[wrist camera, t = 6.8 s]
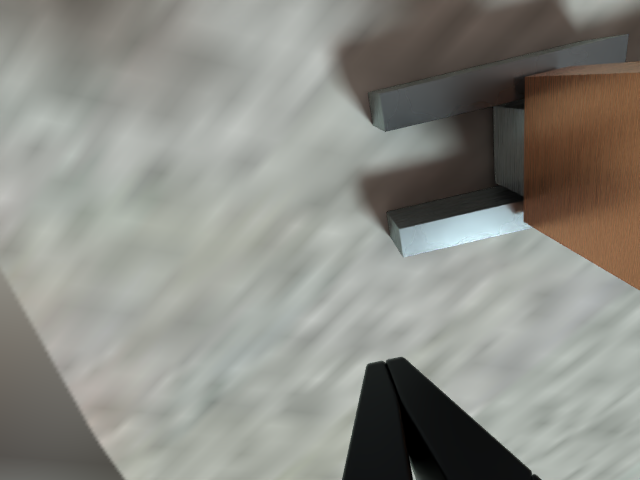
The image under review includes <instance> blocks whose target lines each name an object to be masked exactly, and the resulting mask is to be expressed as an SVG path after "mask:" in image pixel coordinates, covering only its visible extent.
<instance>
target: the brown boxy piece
mask: <svg viewBox="0 0 640 480" xmlns="http://www.w3.org/2000/svg"><path fill="white" fill-rule="evenodd" d="M493 117H494V158H495V183H497V184H499V185H501V186H503V187H505V188H507V189H510V190H512V191H514V192H516V193H518V194H520V195H522V196H524V219H523V222H525V223H527V224H528V225H530V226H532V227H533V228H535V229H537V230H538V231H540V232H542V233H543V234H545V235H547V236H549V237H550V238H552V239H554V240H555V241H557V242H559V243H560V244H562V245H564V246H565V247H567V248H569V249H571V250H572V251H574V252H576V253H577V254H579V255H581V256H582V257H584V258H586V259H587V260H589V261H591V262H593V263H594V264H596V265H598V266H599V267H601V268H603V269H604V270H606V271H608V272H609V273H611V274H613V275H614V276H616V277H618V278H620V279H621V280H623V281H625V282H626V283H628V284H630V285H631V286H633V287H635V288H636V289H638V290H640V61H638V62H623V63H609V64H595V65H581V66H568V67H564V68H560V69H556V70H551V71H547V72H543V73H539V74H535V75H531V76H526V77H525V99H523V100H519V101H514V102H510V103H506V104H502V105H498V106H493Z"/></svg>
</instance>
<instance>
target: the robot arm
mask: <svg viewBox="0 0 640 480" xmlns="http://www.w3.org/2000/svg"><path fill="white" fill-rule="evenodd" d="M410 463H411V465H410ZM411 466H412V469H413V472H414V474H415V477H416V480H541V479H540V478H539V477H538V476H537V475H535V474H533V475H532V472H531V470H530V469H529V468H528V467H527V466H525V465H524V464H523V463H522V462H521V461H520V460H519V459H518V458H516V457H515V456H514V455H513V454H512V453H511V452H510V451H509V450H507V449H506V448H505V447H504V446H503V445H502V444H501V443H500V442H498V441H497V440H496V439H495V438H494V437H493V436H492V435H491V434H489V433H488V432H487V431H486V430H485V429H484V428H483V427H482V426H480V425H479V424H478V423H477V422H476V421H475V420H474V419H473V418H471V417H470V416H469V415H468V414H467V413H466V412H465V411H464V410H462V409H461V408H460V407H459V406H458V405H457V404H456V403H455V402H453V401H452V400H451V399H450V398H449V397H448V396H447V395H446V394H444V393H443V392H442V391H441V390H440V389H439V388H438V387H437V386H435V385H434V384H433V383H432V382H431V381H430V380H429V379H428V378H426V377H425V376H424V375H423V374H422V373H421V372H420V371H419V370H417V369H416V368H415V367H414V366H413V365H412V364H411V363H410V362H408V361H407V360H406V359H405V358H403V357H398V358H393V359H388V360H387V361H386V363H385V362H384V361H379V362H374V363H369V364H368V365H367V366H366V370H365V375H364V379H363V384H362V389H361V394H360V398H359V403H358V408H357V412H356V417H355V422H354V426H353V431H352V436H351V440H350V445H349V450H348V454H347V459H346V464H345V469H344V473H343V478H342V480H413V477H412V471H411Z"/></svg>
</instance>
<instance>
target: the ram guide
mask: <svg viewBox="0 0 640 480" xmlns="http://www.w3.org/2000/svg"><path fill="white" fill-rule="evenodd" d="M628 35H629V34H624V35H618V36H612V37H605V38H599V39H592V40H586V41H580V42H576V43H572V44H568V45H564V46H559V47H555V48H551V49H547V50H543V51H539V52H535V53H530V54H526V55H522V56H518V57H514V58H510V59H506V60H501V61H497V62H493V63H489V64H485V65H481V66H477V67H472V68H468V69H464V70H460V71H456V72H452V73H448V74H443V75H439V76H435V77H431V78H427V79H423V80H418V81H414V82H410V83H406V84H402V85H398V86H394V87H389V88H385V89H381V90H377V91H373V92H369V93H368V96H369V102H370V108H371V115H372V121H373V126H375V127H377V128H379V129H381V130H383V131H385V132H386V131H390V130H395V129H399V128H403V127H407V126H411V125H416V124H420V123H424V122H428V121H432V120H437V119H441V118H445V117H449V116H453V115H458V114H462V113H466V112H470V111H474V110H479V109H483V108H487V107H491V106H495V105H500V104H504V103H508V102H512V101H516V100H521V99H525V77H526V76H531V75H535V74H539V73H543V72H547V71H551V70H556V69H560V68H564V67H568V66H581V65H595V64H609V63H623V62H626V53H627V44H628ZM387 218H388V225H389V231H390V237H391V239H392V240H393V242H394V244H395V245H396V247H397V248H398V250H399V251H400V253H401V255H402V256H403V257H407V256H411V255H416V254H420V253H424V252H429V251H433V250H438V249H442V248H446V247H451V246H455V245H459V244H464V243H468V242H472V241H477V240H481V239H486V238H490V237H494V236H499V235H503V234H507V233H512V232H516V231H520V230H525V229H529V228H533V227H532V226H530V225H528V224H527V223H525V222H523V219H524V196H522V195H520V194H518V193H516V192H514V191H512V190H510V189H507V188H505V187H503V186H496V187H492V188H488V189H483V190H479V191H475V192H471V193H466V194H462V195H458V196H453V197H449V198H445V199H440V200H436V201H432V202H428V203H423V204H419V205H415V206H410V207H406V208H402V209H397V210H393V211H389V212H387Z"/></svg>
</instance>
